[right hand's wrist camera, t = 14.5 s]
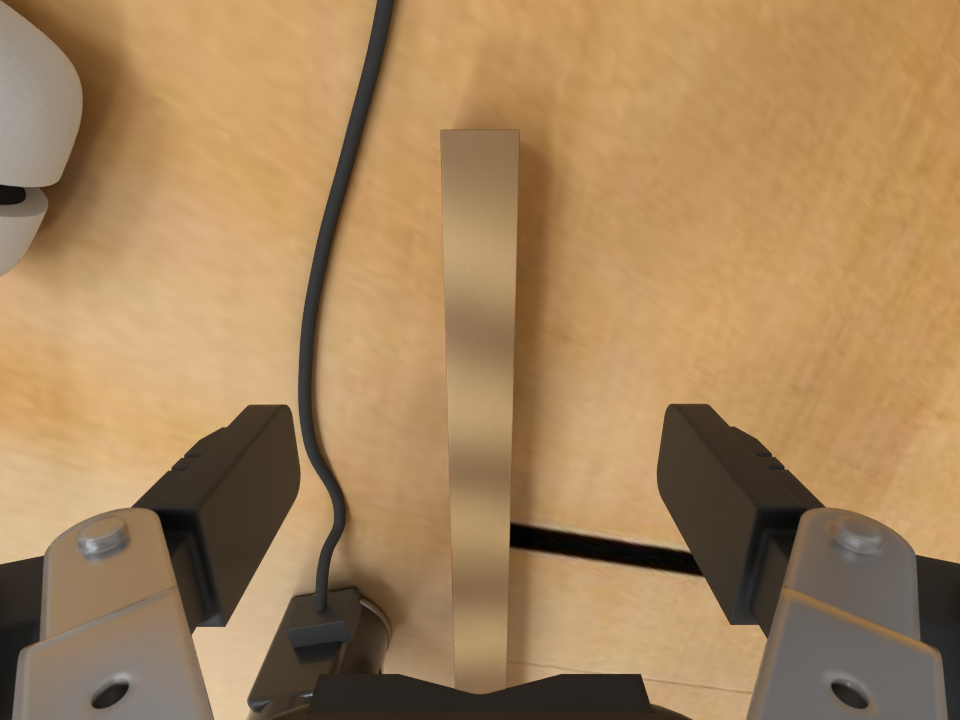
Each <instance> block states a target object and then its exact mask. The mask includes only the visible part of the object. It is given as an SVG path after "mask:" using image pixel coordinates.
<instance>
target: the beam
mask: <svg viewBox="0 0 960 720" xmlns="http://www.w3.org/2000/svg"><path fill="white" fill-rule="evenodd" d="M440 139H441V177H442V216H443V254H444V292H445V330H446V368H447V406H448V444H449V482H450V520H451V558H452V596H453V634H454V672H455V689H457V690H461V691H465V692H469V693H474V694H486V693H491V692H495V691H499V690H503V689H506V669H507V629H508V588H509V547H510V507H511V466H512V426H513V385H514V345H515V304H516V264H517V223H518V183H519V142H520V130H441V131H440Z"/></svg>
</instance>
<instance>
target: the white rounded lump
mask: <svg viewBox="0 0 960 720" xmlns="http://www.w3.org/2000/svg"><path fill="white" fill-rule="evenodd" d="M82 108H83V94H82V87H81V82H80V79H79V76H78V74H77V72H76V69H75V68H74V66H73V64H72V63H71V61H70V60H69V59H68V57H67V56H66V55H65V54H64V53H63V52H62V50H61V49H60V48H59V47H58V46H57V45H56V44H55V43H54V42H53V41H52V40H50V39H49V38H48V37H47V36H46V35H45V34H44V33H43V32H42V31H40V30H39V29H38V28H37V27H35V26H34V25H33V24H32V23H30V22H29V21H28V20H27V19H25V18H24V17H23V16H21V15H20V14H19V13H17V12H16V11H15V10H13V9H12V8H11V7H9V6H8V5H7V4H5V3H4V2H2V1H1V0H0V277H1V276H3V275H4V274H6V273H7V272H9V271H10V270H11V269H13V268H14V267H15V266H16V265H17V264H18V263H19V261H20V260H21V259H22V257H23V256H24V254H25V253H26V251H27V250H28V248H29V246H30V244H31V243H32V241H33V239H34V237H35V235H36V233H37V231H38V229H39V226H40V224H41V222H42V220H43V218H44V215H45V213H46V211H47V209H48V199H47V197H46V195H45V194H44V193H43V192H42V191H41V190H40V189H39V188H38V187H44V186H50V185H52V184H55V183H56V182H58V181H59V180H60V178H61V176H62V173H63V171H64V168H65V166H66V164H67V161H68V158H69V156H70V153H71V151H72V148H73V145H74V142H75V139H76V136H77V133H78V130H79V126H80V122H81V117H82Z"/></svg>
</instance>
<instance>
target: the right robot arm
mask: <svg viewBox="0 0 960 720" xmlns="http://www.w3.org/2000/svg"><path fill="white" fill-rule="evenodd" d="M393 3H394V0H377V5H376V10H375V16H374V21H373V26H372V31H371V36H370V41H369V45H368V50H367V54H366V58H365V63H364V67H363V71H362V75H361V79H360V82H359V86H358V90H357V94H356V97H355V101H354V105H353V108H352V112H351V116H350V120H349V123H348V127H347V131H346V135H345V139H344V143H343V147H342V151H341V154H340V158H339V162H338V166H337V169H336V173H335V176H334V180H333V184H332V187H331V191H330V194H329V198H328V201H327V205H326V208H325V212H324V216H323V220H322V224H321V227H320V232H319V236H318V240H317V244H316V249H315V254H314V259H313V264H312V269H311V274H310V279H309V284H308V289H307V294H306V300H305V306H304V312H303V320H302V328H301V339H300V355H299V378H298V403H299V416H300V424H301V431H302V436H303V441H304V445H305V449H306V452H307V455H308V457H309V459H310V461H311V463H312V465H313V467H314V469H315V470H316V472H317V474H318V475H319V477H320V478H321V480H322V481H323V483H324V485H325V486H326V488H327V490H328V492H329V494H330V497H331V499H332V503H333V508H334V525H333V528H332V530H331V532H330V534H329V536H328V538H327V539H326V541H325V543H324V545H323V548H322V550H321V554H320V558H319V563H318V568H317V577H316V594H310V595H304V596H298V597H293V598H291V600H290V602H289V604H288V607H287V609H286V611H285V614H284V616H283V618H282V620H281V623H280V625H279V627H278V630H277V632H276V634H275V637H274V639H273V641H272V643H271V646H270V648H269V650H268V653H267V655H266V657H265V659H264V662H263V664H262V666H261V669H260V671H259V673H258V675H257V678H256V680H255V682H254V685H253V687H252V689H251V692H250V694H249V696H248V699H247V703H248V706H249V707H250V709H251V710H250V712H249V715H248V717H247V719H246V720H692V719H690V718H688V717H686V716H684V715H682V714H680V713H677V712H674V711H672V710H669V709H666V708H664V707H661V706H657V705H654V704H650V702H649V699H648V696H647V693H646V689H645V686H644V683H643V680H642V677H641V674H560V675H556V676H552V677H549V678H545V679H541V680H537V681H533V682H529V683H526V684H522V685H518V686H514V687H510V688H506V689H503V690H499V691H495V692H491V693H486V694H474V693H469V692H465V691H461V690H457V689H454V688H450V687H446V686H442V685H438V684H434V683H431V682H427V681H423V680H419V679H415V678H411V677H408V676H404V675H400V674H382V672H384V670H383V667H384V661H385V656H386V652H387V649H388V646H389V642H390V635H391V631H390V626H389V622H388V620H387V618H386V616H385V615H384V614H383V612H382V611H381V610H380V609H379V608H378V607H377V606H376V605H374V604H373V603H372V602H370V601H369V600H367V599H365V598H363V597H362V596H361V595H360V593H359V591H358V589H357V588H356V587H353V588H347V589H341V590H334V591H327V589H328V574H329V566H330V561H331V557H332V553H333V550H334V548H335V546H336V544H337V542H338V541H339V539H340V537H341V535H342V532H343V530H344V526H345V504H344V499H343V496H342V493H341V490H340V488H339V486H338V484H337V482H336V480H335V479H334V477H333V475H332V474H331V472H330V470H329V469H328V467H327V466H326V464H325V462H324V460H323V458H322V456H321V454H320V452H319V449H318V446H317V442H316V438H315V433H314V426H313V419H312V408H311V377H312V358H313V343H314V333H315V324H316V317H317V311H318V305H319V299H320V294H321V289H322V284H323V279H324V275H325V270H326V265H327V260H328V256H329V251H330V247H331V243H332V239H333V235H334V231H335V227H336V223H337V220H338V216H339V212H340V209H341V206H342V202H343V199H344V195H345V192H346V188H347V185H348V182H349V178H350V175H351V171H352V168H353V164H354V160H355V157H356V153H357V149H358V145H359V142H360V138H361V134H362V131H363V127H364V123H365V120H366V116H367V113H368V109H369V105H370V102H371V98H372V95H373V91H374V87H375V84H376V80H377V76H378V72H379V68H380V64H381V60H382V56H383V52H384V47H385V43H386V38H387V34H388V29H389V24H390V19H391V13H392V8H393ZM657 483H658V489H659V493H660V495H661V498H662V500H663V502H664V503H665V505H666V507H667V509H668V511H669V513H670V514H671V516H672V518H673V520H674V522H675V524H676V525H677V527H678V529H679V531H680V533H681V535H682V536H683V538H684V540H685V542H686V544H687V546H688V547H689V549H690V551H691V553H692V555H693V557H694V558H695V560H696V562H697V564H698V566H699V568H700V570H701V571H702V573H703V575H704V577H705V579H706V581H707V582H708V584H709V586H710V588H711V590H712V592H713V593H714V595H715V597H716V599H717V601H718V603H719V604H720V606H721V608H722V610H723V612H724V614H725V615H726V617H727V619H728V621H729V623H730V625H759V626H760V628H761V629H762V631H763V632H764V634H765V636H766V637H767V643H766V646H765V650H764V654H763V657H762V661H761V665H760V669H759V672H758V676H757V680H756V683H755V687H754V691H753V695H752V698H751V702H750V706H749V709H748V713H747V717H746V720H960V564H958V563H953V562H948V561H943V560H939V559H934V558H929V557H924V556H919V555H915V552H914V551H913V549H912V547H911V546H910V545H909V543H908V542H907V541H906V540H905V539H904V538H903V537H902V536H900V535H899V534H898V533H896V532H895V531H894V530H892V529H890V528H889V527H887V526H886V525H884V524H882V523H880V522H878V521H876V520H874V519H871V518H869V517H867V516H864V515H861V514H858V513H855V512H851V511H847V510H843V509H836V508H826V507H825V506H824V505H823V504H822V503H821V502H820V501H819V500H818V499H817V498H816V497H815V496H814V495H813V494H812V493H811V492H810V491H809V490H808V489H807V488H806V487H805V486H804V485H803V484H802V483H801V482H800V481H799V480H798V479H797V478H796V477H795V476H794V475H793V474H792V473H791V472H790V471H789V470H785V469H784V465H783V464H782V463H780V462H779V461H778V460H777V459H776V458H775V457H772V454H771V453H770V452H769V451H768V450H767V449H766V448H765V447H764V446H763V445H762V444H761V443H760V442H759V441H758V440H757V439H756V438H754V437H752V436H750V435H749V434H747V433H745V432H743V431H741V430H740V429H738V428H736V427H730V426H729V425H728V424H727V423H726V422H725V421H724V420H723V419H722V418H721V417H720V416H719V415H718V414H717V413H716V412H715V411H714V410H713V409H712V408H711V406H709V405H708V404H670V405H669V406H668V407H667V409H666V412H665V417H664V424H663V431H662V438H661V444H660V451H659V458H658V465H657ZM299 486H300V464H299V457H298V451H297V444H296V437H295V430H294V423H293V417H292V413H291V410H290V408H289V407H288V406H287V405H249V406H247V407H246V408H245V409H244V410H243V411H242V412H241V413H240V414H239V415H238V416H237V417H236V418H235V420H234V421H233V422H232V423H231V424H230V425H229V426H228V427H222V428H221V429H219V430H217V431H215V432H213V433H212V434H210V435H208V436H206V437H204V438H203V439H201V440H199V441H198V442H197V443H196V444H195V445H194V446H193V447H192V448H191V449H190V450H189V451H188V452H187V453H186V454H185V455H184V458H181V459H180V460H179V461H178V462H177V463H176V464H175V465H174V466H173V467H172V470H171V471H168V472H167V473H166V474H165V475H164V476H163V477H162V478H160V479H159V480H158V481H157V482H156V483H155V484H154V485H153V486H152V487H151V488H150V489H149V490H148V491H147V492H146V493H145V494H144V495H143V496H142V497H141V498H140V499H139V500H138V501H137V502H136V503H135V504H134V505H133V506H132V507H131V508H124V509H117V510H113V511H109V512H105V513H102V514H99V515H96V516H93V517H91V518H89V519H86V520H84V521H82V522H80V523H78V524H76V525H74V526H73V527H71V528H70V529H68V530H66V531H65V532H64V533H62V534H61V535H60V536H58V537H57V538H56V539H55V540H54V541H53V542H52V543H51V545H50V546H49V547H48V549H47V551H46V552H45V556H40V557H35V558H30V559H25V560H20V561H15V562H10V563H6V564H1V565H0V720H214V717H213V713H212V709H211V706H210V702H209V698H208V695H207V691H206V687H205V683H204V680H203V676H202V672H201V669H200V665H199V661H198V657H197V654H196V650H195V646H194V643H193V639H192V634H193V632H194V630H195V629H196V627H225V626H226V624H227V623H228V621H229V619H230V617H231V615H232V614H233V612H234V610H235V608H236V606H237V605H238V603H239V601H240V599H241V597H242V595H243V594H244V592H245V590H246V588H247V586H248V585H249V583H250V581H251V579H252V577H253V575H254V574H255V572H256V570H257V568H258V566H259V565H260V563H261V561H262V559H263V557H264V556H265V554H266V552H267V550H268V548H269V546H270V545H271V543H272V541H273V539H274V537H275V536H276V534H277V532H278V530H279V528H280V526H281V525H282V523H283V521H284V519H285V517H286V516H287V514H288V512H289V510H290V508H291V507H292V505H293V503H294V501H295V499H296V497H297V494H298V491H299Z"/></svg>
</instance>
